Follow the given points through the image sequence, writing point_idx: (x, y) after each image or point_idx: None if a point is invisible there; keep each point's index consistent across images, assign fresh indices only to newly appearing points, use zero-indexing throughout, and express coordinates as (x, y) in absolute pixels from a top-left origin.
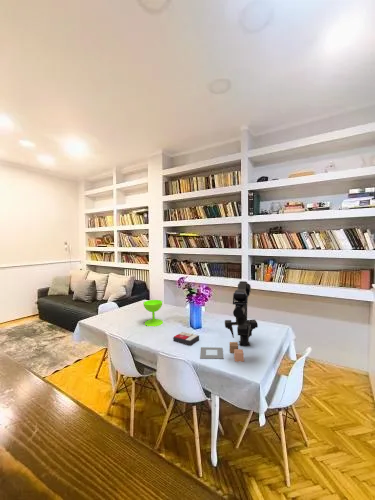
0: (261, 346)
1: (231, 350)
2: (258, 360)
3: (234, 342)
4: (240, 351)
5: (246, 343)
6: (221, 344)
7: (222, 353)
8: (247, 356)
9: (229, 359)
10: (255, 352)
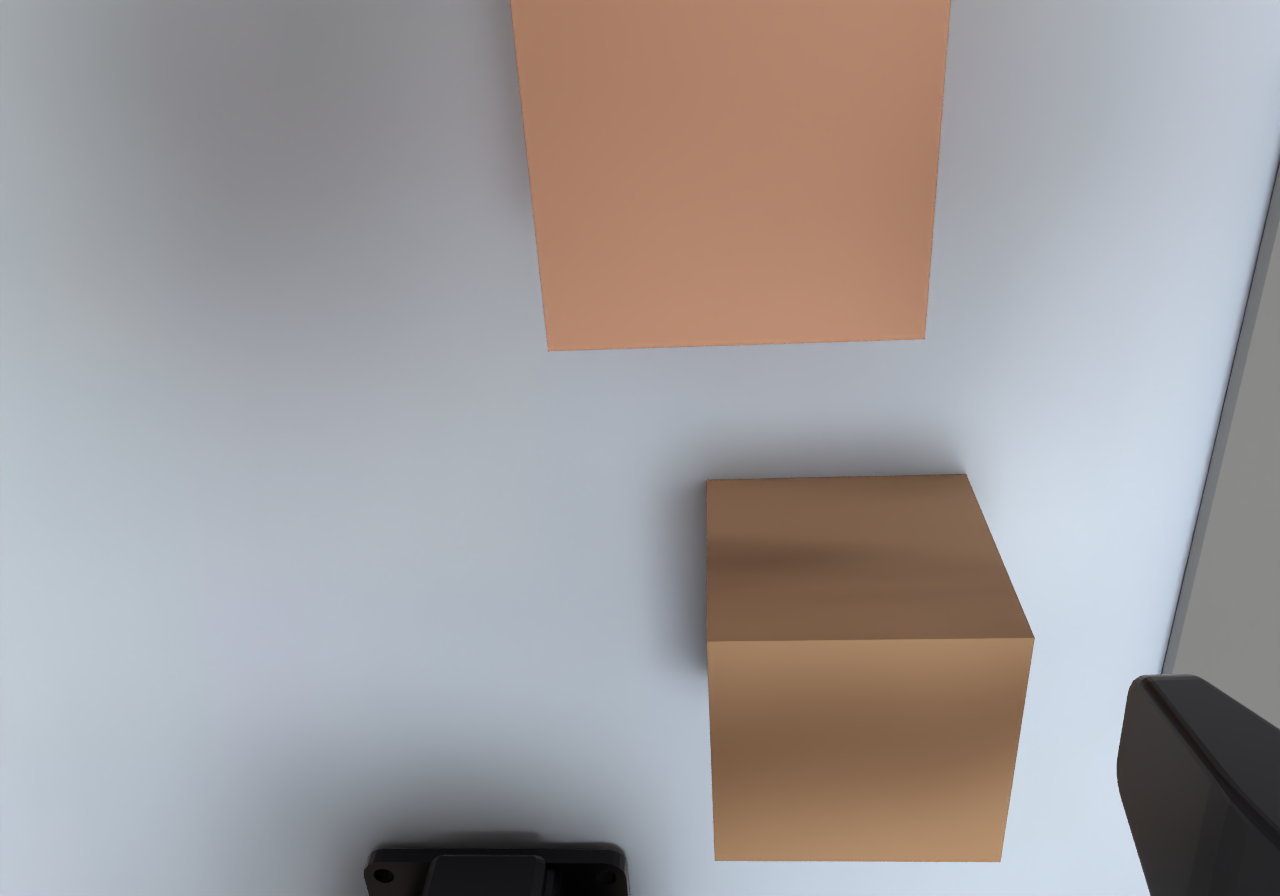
0: (85, 824)
1: (940, 523)
2: (51, 56)
3: (823, 832)
4: (649, 135)
5: (443, 892)
6: (1127, 893)
7: (1255, 407)
8: (427, 301)
9: (1078, 38)
10: (203, 545)
